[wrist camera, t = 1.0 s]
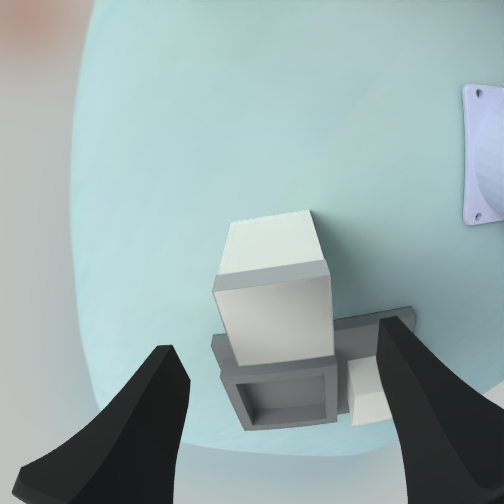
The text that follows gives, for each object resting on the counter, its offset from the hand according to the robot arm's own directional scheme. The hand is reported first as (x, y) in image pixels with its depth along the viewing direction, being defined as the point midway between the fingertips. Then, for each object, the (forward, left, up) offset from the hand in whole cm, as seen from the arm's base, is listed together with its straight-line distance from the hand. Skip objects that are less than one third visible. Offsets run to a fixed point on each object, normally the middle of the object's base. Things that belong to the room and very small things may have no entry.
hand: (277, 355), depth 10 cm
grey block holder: (-2, +10, -7) cm, 13 cm away
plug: (0, 0, -8) cm, 7 cm away
